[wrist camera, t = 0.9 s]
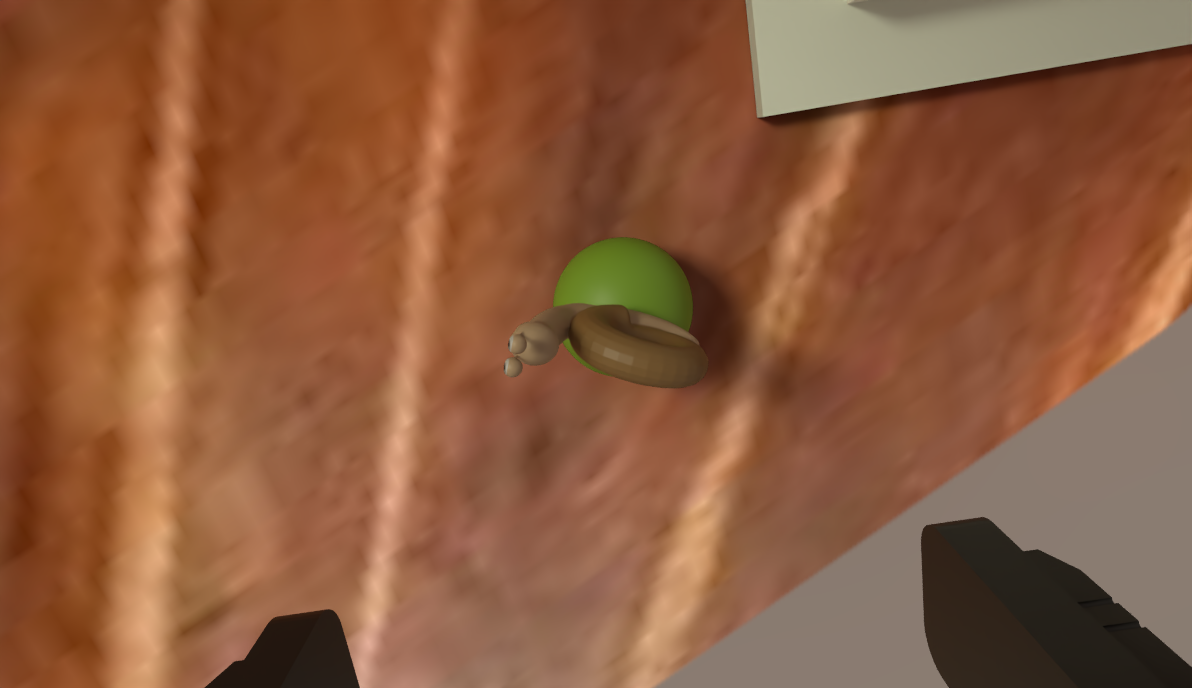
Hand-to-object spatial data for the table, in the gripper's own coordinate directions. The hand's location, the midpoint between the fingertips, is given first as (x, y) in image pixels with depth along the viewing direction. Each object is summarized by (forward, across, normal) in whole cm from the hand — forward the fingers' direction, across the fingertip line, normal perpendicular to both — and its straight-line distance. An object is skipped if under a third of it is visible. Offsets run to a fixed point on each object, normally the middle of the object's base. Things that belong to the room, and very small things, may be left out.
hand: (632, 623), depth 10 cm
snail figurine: (+22, 0, 0) cm, 22 cm away
